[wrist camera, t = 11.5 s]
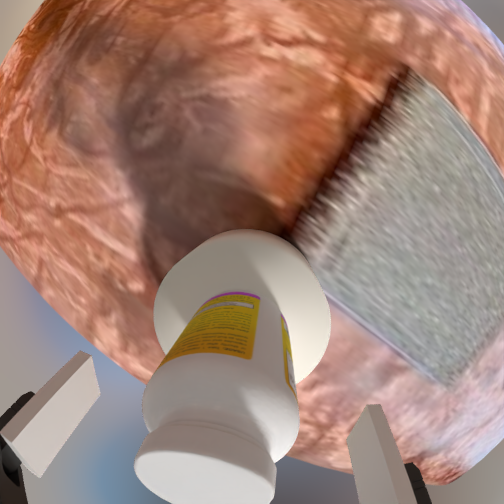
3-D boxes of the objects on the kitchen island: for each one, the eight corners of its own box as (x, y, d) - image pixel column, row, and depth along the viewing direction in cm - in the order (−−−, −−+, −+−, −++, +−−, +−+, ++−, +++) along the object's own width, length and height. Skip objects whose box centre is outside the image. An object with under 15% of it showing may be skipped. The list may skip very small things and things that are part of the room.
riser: (169, 233, 24) (139, 247, 18) (317, 224, 23) (332, 235, 17) (189, 357, 27) (172, 393, 21) (316, 355, 26) (325, 393, 20)
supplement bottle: (177, 329, 19) (81, 456, 6) (237, 266, 18) (166, 384, 5) (244, 385, 19) (218, 532, 7) (308, 330, 18) (348, 488, 6)
